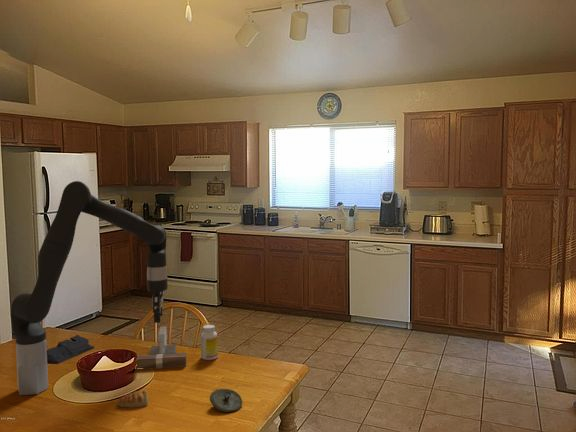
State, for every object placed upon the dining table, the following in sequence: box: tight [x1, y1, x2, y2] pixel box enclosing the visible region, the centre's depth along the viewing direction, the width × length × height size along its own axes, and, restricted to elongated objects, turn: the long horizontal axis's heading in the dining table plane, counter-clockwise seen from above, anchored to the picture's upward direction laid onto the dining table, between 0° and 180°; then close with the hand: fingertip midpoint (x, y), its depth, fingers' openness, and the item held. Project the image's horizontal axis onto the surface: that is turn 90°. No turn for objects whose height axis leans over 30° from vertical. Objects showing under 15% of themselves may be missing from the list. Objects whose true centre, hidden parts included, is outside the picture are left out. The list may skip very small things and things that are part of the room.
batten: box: [136, 352, 187, 369], centre depth 188 cm, size 4×20×4 cm, turn 99°
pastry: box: [117, 389, 149, 408], centre depth 157 cm, size 9×7×4 cm
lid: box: [209, 388, 243, 413], centre depth 155 cm, size 11×10×5 cm
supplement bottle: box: [200, 324, 219, 361], centre depth 197 cm, size 7×7×13 cm
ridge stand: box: [148, 326, 177, 355], centre depth 201 cm, size 10×10×10 cm
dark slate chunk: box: [47, 334, 95, 364], centre depth 203 cm, size 15×22×5 cm
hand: (158, 319), depth 187 cm, fingers open, 8 cm apart
